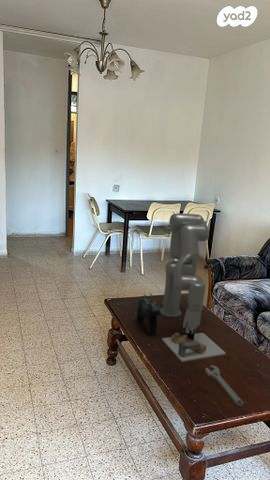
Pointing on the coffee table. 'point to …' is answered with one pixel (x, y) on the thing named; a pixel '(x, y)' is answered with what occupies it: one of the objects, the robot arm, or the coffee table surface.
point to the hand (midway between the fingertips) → (190, 339)
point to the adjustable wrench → (223, 384)
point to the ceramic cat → (148, 314)
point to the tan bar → (182, 339)
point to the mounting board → (192, 353)
